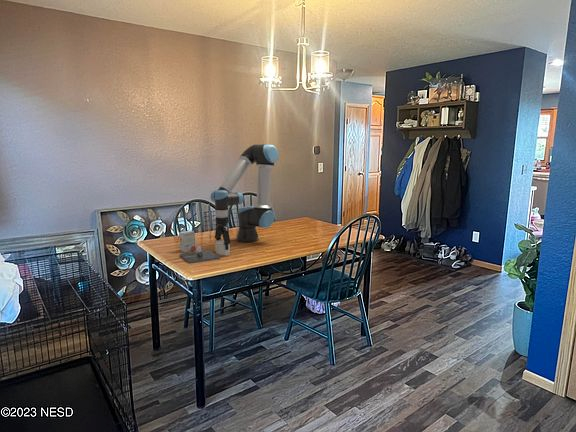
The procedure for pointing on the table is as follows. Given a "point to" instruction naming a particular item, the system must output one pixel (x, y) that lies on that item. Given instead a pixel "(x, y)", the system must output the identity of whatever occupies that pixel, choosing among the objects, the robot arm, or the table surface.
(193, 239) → the ink box
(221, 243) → the light grey boxy piece
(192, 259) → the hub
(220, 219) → the robot arm
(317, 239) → the table surface
